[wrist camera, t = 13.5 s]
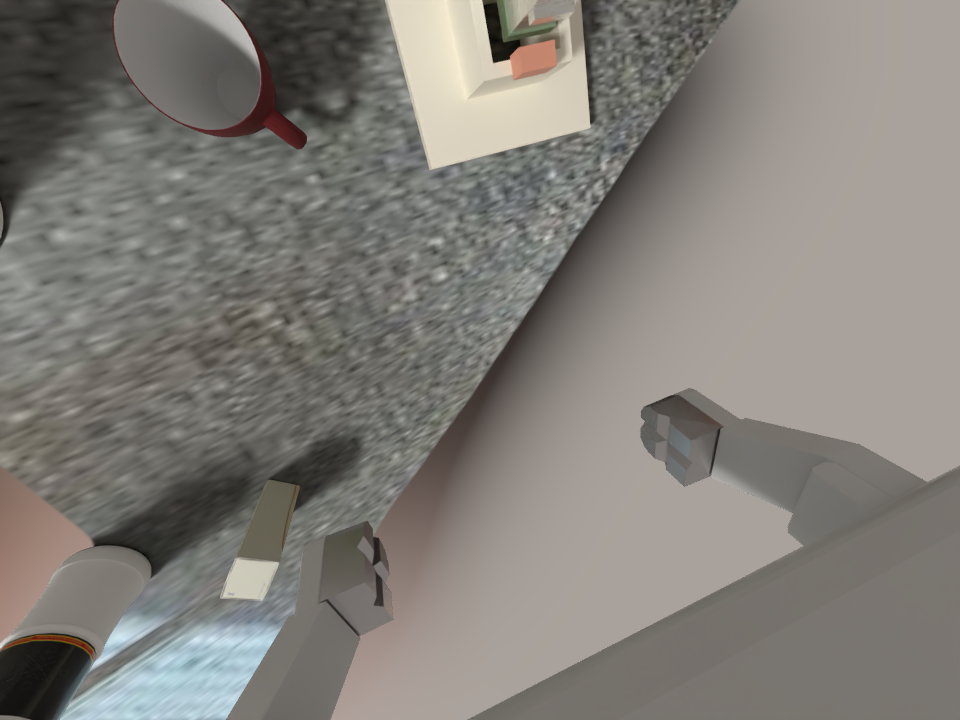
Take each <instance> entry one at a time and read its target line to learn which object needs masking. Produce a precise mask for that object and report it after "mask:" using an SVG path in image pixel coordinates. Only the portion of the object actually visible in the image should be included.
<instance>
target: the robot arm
mask: <svg viewBox="0 0 960 720" xmlns="http://www.w3.org/2000/svg"><path fill="white" fill-rule="evenodd" d="M2 230H3V212H2V207H1V203H0V238H1V235H2ZM641 418H642V419H643V420H644V421H645V422H644V424H643V426H642V427H641V439H642V442H643V444H644V446H645V448H646V449H647V451H648V452H649V453H650V454H651V455H652V456H653V457H654V458H655V459H658V460H661V461H664V462H665V464H666V470H667V471H668V472H669V473H670V474H671V475H672V476H673V477H674V478H676V479H677V480H678V481H679V482H680V483H681V484H682V485H683V486H684V487H685V486H688V485H690V484H692V483H695V482H697V481H700V480H702V479H704V478H707V477H709V476H711V478H713V479H716V480H718V481H720V482H722V483H725V484H727V485H729V486H732V487H734V488H737V489H739V490H741V491H743V492H746V493H748V494H750V495H752V496H755V497H757V498H760V499H762V500H764V501H767V502H769V503H771V504H774V505H776V506H778V507H780V508H783V509H785V510H787V511H789V512H792V513H793V515H792V518H791V520H790V522H789V525H788V533H789V534H790V535H792V536H793V537H794V538H795V539H796V540H797V541H799V542H800V543H801V544H802V545H803V547H801V548H799V549H797V550H795V551H793V552H791V553H789V554H788V555H785V556H784V557H782V558H780V559H778V560H776V561H774V562H772V563H770V564H768V565H766V566H764V567H762V568H760V569H758V570H756V571H755V572H753V573H751V574H749V575H747V576H745V577H743V578H741V579H739V580H737V581H735V582H733V583H731V584H729V585H728V586H726V587H724V588H722V589H720V590H718V591H716V592H714V593H712V594H710V595H708V596H706V597H704V598H702V599H700V600H698V601H697V602H694V603H692V604H691V605H689V606H687V607H685V608H683V609H681V610H679V611H677V612H675V613H673V614H671V615H669V616H667V617H665V618H663V619H661V620H660V621H658V622H656V623H654V624H652V625H650V626H648V627H646V628H644V629H642V630H640V631H638V632H637V633H634V634H632V635H630V636H629V637H627V638H625V639H623V640H621V641H619V642H617V643H615V644H613V645H611V646H609V647H607V648H605V649H603V650H601V651H600V652H598V653H596V654H594V655H592V656H590V657H588V658H586V659H584V660H582V661H580V662H578V663H576V664H574V665H572V666H571V667H568V668H567V669H565V670H563V671H561V672H559V673H557V674H555V675H553V676H551V677H549V678H547V679H545V680H543V681H541V682H539V683H538V684H536V685H534V686H532V687H530V688H528V689H526V690H524V691H522V692H520V693H518V694H516V695H514V696H512V697H510V698H509V699H507V700H505V701H503V702H501V703H499V704H497V705H495V706H493V707H491V708H489V709H487V710H485V711H483V712H481V713H479V714H477V715H476V716H474V717H472V718H470V719H468V720H960V466H958V467H956V468H954V469H952V470H950V471H949V472H946V473H944V474H943V475H941V476H939V477H937V478H935V479H933V480H931V481H929V482H926V481H924V480H923V479H921V478H919V477H917V476H915V475H914V474H912V473H910V472H908V471H906V470H905V469H903V468H901V467H899V466H897V465H896V464H894V463H892V462H890V461H888V460H887V459H885V458H883V457H881V456H879V455H877V454H876V453H874V452H872V451H870V450H869V449H867V448H865V447H863V446H861V445H860V444H856V443H852V442H847V441H843V440H839V439H834V438H830V437H826V436H821V435H817V434H813V433H808V432H804V431H800V430H795V429H791V428H787V427H782V426H778V425H774V424H769V423H765V422H760V421H756V420H752V419H748V418H745V419H742V420H741V419H739V418H737V417H736V416H734V415H733V414H731V413H730V412H728V411H727V410H725V409H724V408H722V407H721V406H719V405H717V404H716V403H714V402H713V401H711V400H710V399H708V398H707V397H705V396H704V395H702V394H700V393H699V392H698V391H696V390H694V389H691V388H688V389H686V390H684V391H681V392H678V393H676V394H674V395H671V396H668V397H666V398H664V399H661V400H659V401H656V402H654V403H652V404H650V405H647V406H645V407H644V408H643V409H642V411H641ZM388 576H389V565H388V560H387V555H386V552H385V549H384V547H383V544H382V542H381V541H380V539H379V538H377V537H373V528H372V527H371V525H370V524H369V522H368V521H365V522H362V523H360V524H357V525H354V526H352V527H349V528H346V529H344V530H341V531H339V532H336V533H333V534H331V535H328V536H326V537H323V538H321V539H318V540H316V541H313V542H311V543H308V544H306V546H305V548H304V550H303V554H302V562H301V570H300V577H299V585H298V593H297V601H296V608H295V614H294V615H292V616H290V617H288V619H287V620H286V622H285V623H284V625H283V627H282V628H281V630H280V632H279V633H278V635H277V637H276V638H275V640H274V642H273V643H272V645H271V646H270V648H269V650H268V651H267V653H266V655H265V656H264V658H263V660H262V661H261V663H260V665H259V666H258V668H257V669H256V671H255V673H254V674H253V676H252V678H251V679H250V681H249V683H248V684H247V686H246V688H245V689H244V691H243V692H242V694H241V696H240V697H239V699H238V701H237V702H236V704H235V706H234V707H233V709H232V711H231V712H230V714H229V715H228V717H227V719H226V720H330V719H331V717H332V714H333V711H334V708H335V706H336V703H337V700H338V698H339V695H340V692H341V689H342V687H343V684H344V681H345V678H346V675H347V673H348V670H349V668H350V665H351V662H352V660H353V657H354V654H355V651H356V648H357V646H358V643H359V641H360V637H359V636H361V635H363V634H365V633H367V632H369V631H371V630H373V629H375V628H377V627H379V626H381V625H384V624H386V623H388V622H390V621H392V620H393V607H392V596H391V591H390V589H389V588H388V586H387V585H386V581H387V578H388Z"/></svg>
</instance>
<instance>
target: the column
mask: <svg viewBox="0 0 960 720" xmlns="http://www.w3.org/2000/svg"><path fill="white" fill-rule="evenodd" d="M578 1H579V0H497V4H498V11H499V17H500V24H501V30H502V36H503V42H509V41H513V40H518V39H522V38H527V37H531V36H536V35H541V34H545V33H549V32H550V31H552V30H553V29H554V28H555V27H556V22H557V21H558V20H559V19H564V18H568V17H570V16H571V15H572V14H573V13H574V12H575V4H576V3H577V2H578Z"/></svg>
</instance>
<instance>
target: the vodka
mask: <svg viewBox="0 0 960 720" xmlns="http://www.w3.org/2000/svg"><path fill="white" fill-rule="evenodd" d="M150 578H151V565H150V562H149V561H148V559H147V558H146V557H145V556H144V555H142V554H141V553H139V552H137V551H135V550H132V549H129V548H126V547H121V546H111V545H105V546H96V547H91V548H88V549H84V550H82V551H80V552H78V553H76V554H74V555H72V556H71V557H69V558H68V559H66V560H65V561H64V562H63V563H62V565H61V566H60V567H59V568H58V569H57V570H56V572H55V573H54V574H53V576H52V577H51V579H50V583H49V585H48V587H47V588H46V590H45V591H44V593H43V594H42V596H41V598H40V599H39V600H38V602H37V603H36V604H35V605H34V607H33V608H32V609H31V611H30V612H29V613H28V614H27V616H26V617H25V618H24V620H23V621H22V622H21V623H20V624H19V625H18V627H17V628H16V629H15V630H14V631H13V632H12V633H11V634H10V635H9V636H8V637H6V638H5V639H4V640H3V641H2V642H1V644H0V720H60V718H61V717H62V715H63V713H64V712H65V710H66V708H67V707H68V705H69V703H70V702H71V700H72V698H73V697H74V695H75V693H76V692H77V690H78V688H79V687H80V685H81V683H82V682H83V680H84V678H85V677H86V675H87V673H88V672H89V670H90V668H91V667H92V665H93V663H94V662H95V661H96V660H97V659H98V658H99V657H100V655H101V654H102V652H103V649H104V646H105V644H106V642H107V640H108V638H109V636H110V635H111V633H112V631H113V630H114V628H115V627H116V625H117V624H118V622H119V620H120V619H121V617H122V616H123V614H124V613H125V611H126V610H127V609H128V607H129V606H130V605H131V604H132V602H133V601H134V600H135V599H136V598H137V597H138V596H139V595H140V594H141V593H142V591H143V590H144V588H145V587H146V585H147V583H148V582H149V580H150Z"/></svg>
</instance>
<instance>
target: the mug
mask: <svg viewBox="0 0 960 720" xmlns="http://www.w3.org/2000/svg"><path fill="white" fill-rule="evenodd" d="M112 27H113V38H114V43H115V47H116V50H117V54H118V56H119V59H120V61H121V64H122V66H123V68H124V70H125V71H126V73H127V75H128V77H129V78H130V80H131V81H132V83H133V84H134V85H135V87H136V88H137V89H138V90H139V92H140V93H141V94H142V95H143V96H144V97H145V98H146V99H147V100H148V101H149V102H150V103H151V104H152V105H153V106H154V107H155V108H157V109H158V110H159V111H160V112H162V113H163V114H165V115H166V116H168V117H169V118H171V119H172V120H174V121H176V122H178V123H180V124H182V125H184V126H187V127H189V128H191V129H194V130H196V131H199V132H202V133H205V134H209V135H213V136H218V137H238V136H243V135H248V134H253V133H256V132H258V131H260V130H262V129H264V128H265V127H267V128H268V129H270V130H271V131H272V132H274V133H275V134H276V135H278V136H279V137H280V138H282V139H283V140H284V141H286V142H287V143H288V144H290V145H291V146H293V147H294V148H296V149H301V148H303V147H304V146H305V144H306V142H307V136H306V134H305V133H304V132H303V131H301V130H300V129H299V128H298V127H297V126H295V125H294V124H293V123H292V122H291V121H289V120H288V119H287V118H286V117H284V116H283V115H282V114H281V113H279V112H278V111H277V110H276V95H275V88H274V84H273V80H272V75H271V72H270V68H269V65H268V62H267V60H266V58H265V55H264V53H263V51H262V49H261V47H260V45H259V44H258V42H257V40H256V39H255V37H254V36H253V34H252V33H251V32H250V30H249V29H248V28H247V26H246V25H245V24H244V23H243V21H242V20H241V19H240V18H239V17H238V15H237V14H236V13H235V12H234V11H233V10H232V9H231V8H230V6H229V5H228V4H226V3H225V2H224V1H223V0H117V2H116V5H115V8H114V13H113V22H112Z"/></svg>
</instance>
